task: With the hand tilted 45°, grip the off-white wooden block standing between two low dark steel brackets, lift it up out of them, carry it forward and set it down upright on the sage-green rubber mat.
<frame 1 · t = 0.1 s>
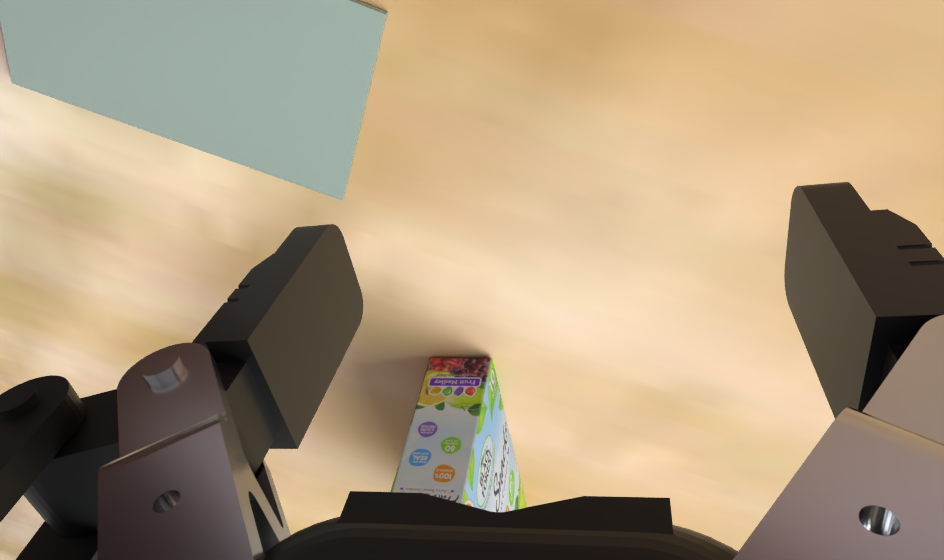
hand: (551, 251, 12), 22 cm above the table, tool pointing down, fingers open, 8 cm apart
mat: (186, 48, 35), on the table
snack box: (482, 436, 55), on the table
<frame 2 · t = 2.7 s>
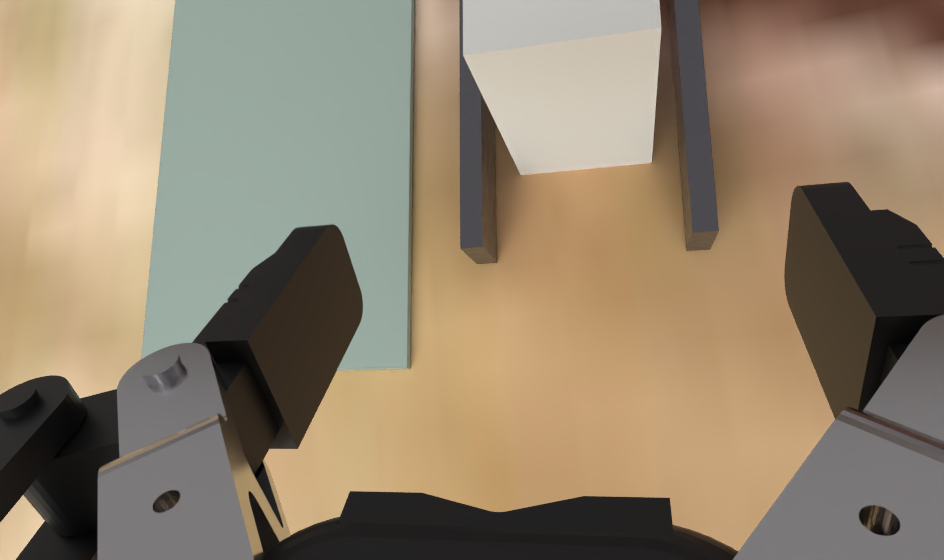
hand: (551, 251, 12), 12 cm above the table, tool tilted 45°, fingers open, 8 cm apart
mat: (283, 143, 28), on the table
block: (581, 109, 25), on the table
brackets: (581, 108, 25), on the table
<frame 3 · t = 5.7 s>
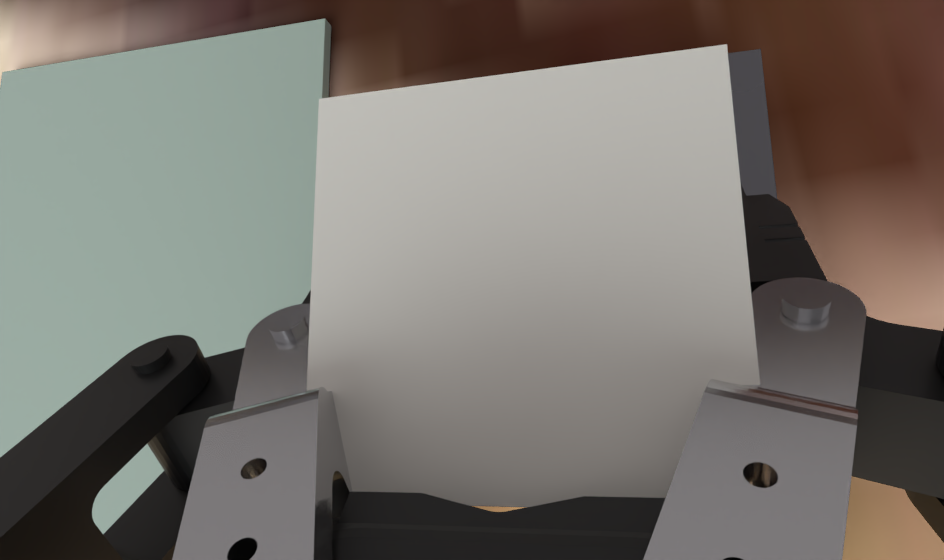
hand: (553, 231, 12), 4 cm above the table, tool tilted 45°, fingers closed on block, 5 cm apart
mat: (131, 363, 19), on the table
block: (577, 348, 16), on the table, touching gripper
brackets: (578, 348, 16), on the table
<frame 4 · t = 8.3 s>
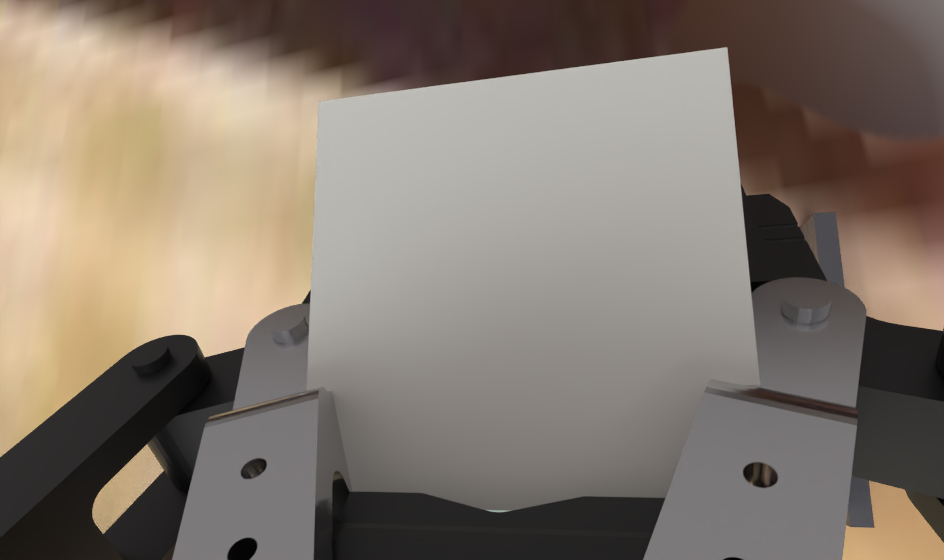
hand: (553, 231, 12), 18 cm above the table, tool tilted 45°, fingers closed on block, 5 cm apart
block: (577, 349, 16), point 14 cm above the table, touching gripper
brackets: (929, 364, 26), on the table
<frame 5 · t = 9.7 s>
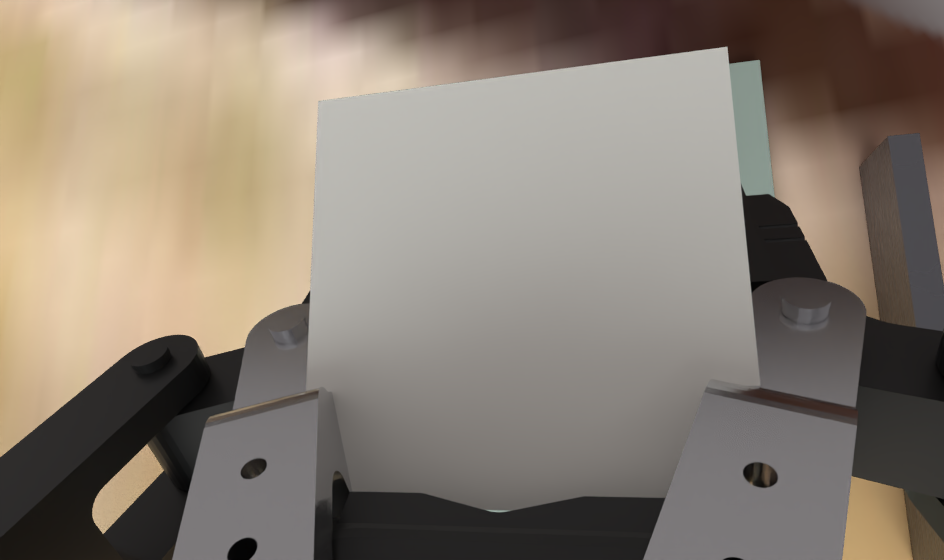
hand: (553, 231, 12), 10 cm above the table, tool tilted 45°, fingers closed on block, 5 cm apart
mat: (596, 360, 22), on the table
block: (577, 349, 16), point 6 cm above the table, touching gripper
when the fingers open (6 cm above the table, at t = 11.0 s): block drops 1 cm, resting on mat.
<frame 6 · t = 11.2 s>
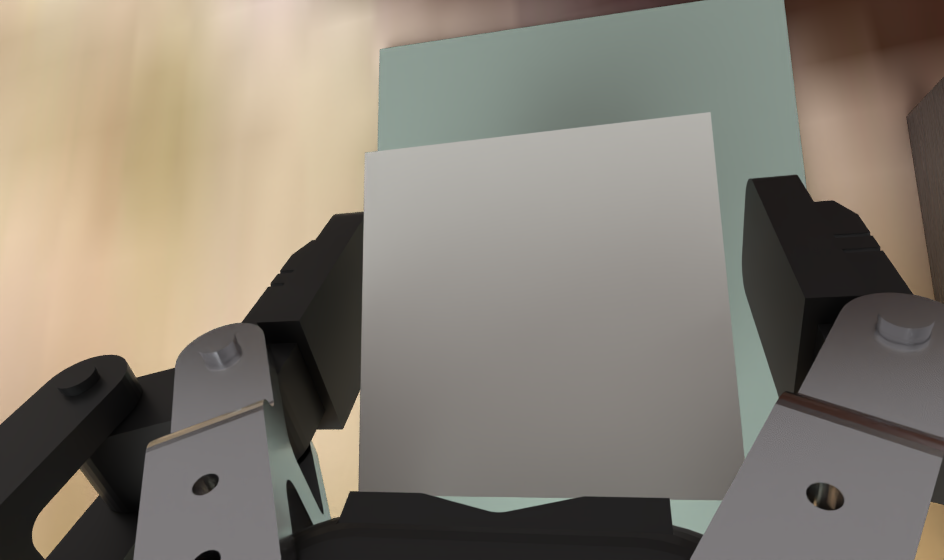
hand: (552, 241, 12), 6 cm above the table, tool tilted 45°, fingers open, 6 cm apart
mat: (582, 355, 18), on the table
block: (582, 357, 17), resting on mat
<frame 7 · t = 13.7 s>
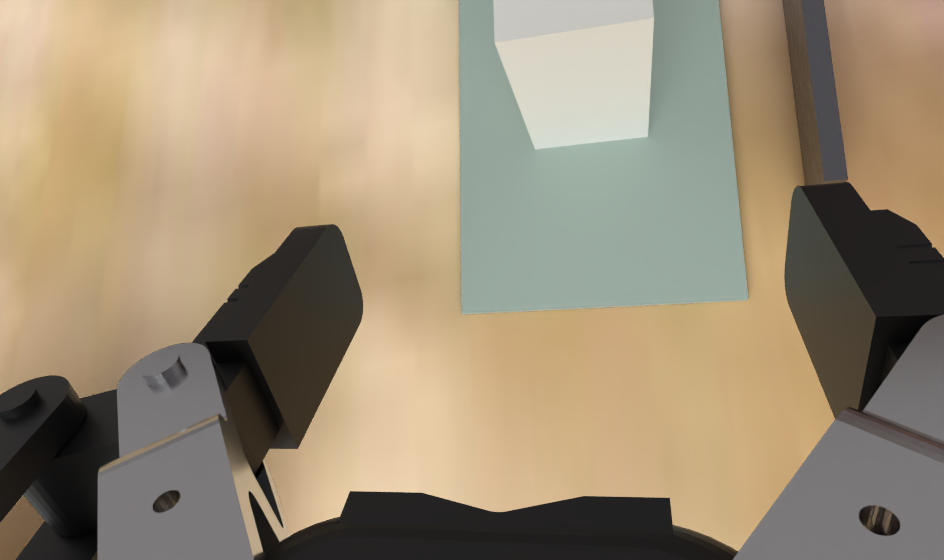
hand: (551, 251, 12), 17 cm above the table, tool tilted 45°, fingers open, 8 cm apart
mat: (587, 94, 30), on the table
block: (587, 92, 29), resting on mat
brackets: (903, 55, 27), on the table
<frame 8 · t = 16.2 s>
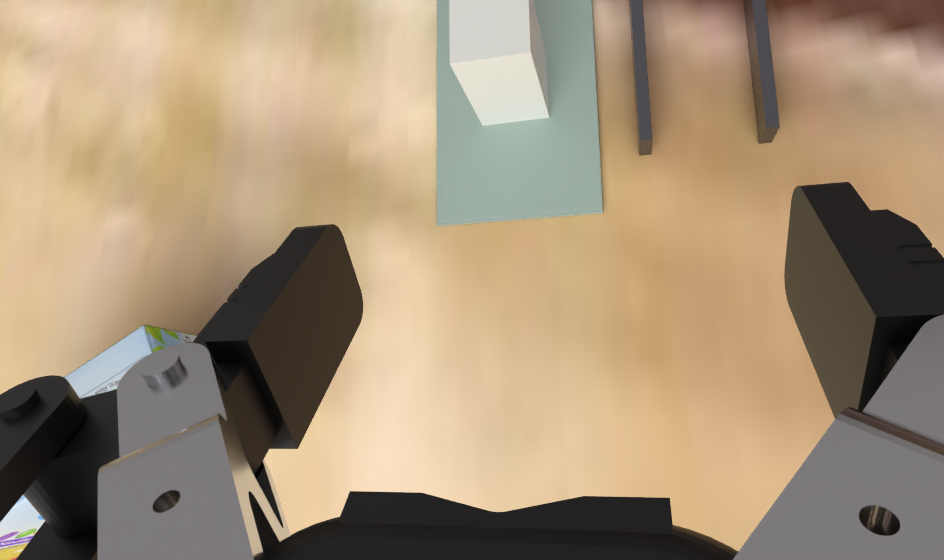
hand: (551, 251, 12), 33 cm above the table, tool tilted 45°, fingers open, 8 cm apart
mat: (515, 92, 48), on the table
snack box: (190, 447, 49), on the table
block: (514, 90, 48), resting on mat
brackets: (696, 69, 45), on the table
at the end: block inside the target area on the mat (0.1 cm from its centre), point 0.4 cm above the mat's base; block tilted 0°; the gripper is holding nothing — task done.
